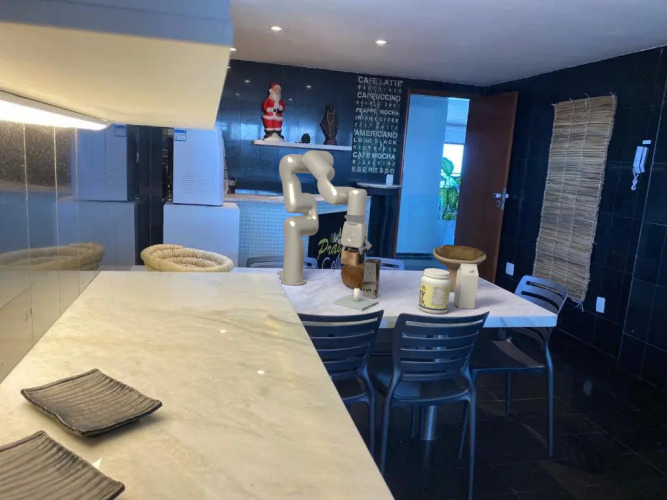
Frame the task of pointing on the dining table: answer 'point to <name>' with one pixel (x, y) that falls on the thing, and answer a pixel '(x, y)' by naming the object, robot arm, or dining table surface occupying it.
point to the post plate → (357, 304)
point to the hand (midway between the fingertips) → (352, 261)
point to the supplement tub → (434, 291)
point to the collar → (350, 257)
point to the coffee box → (371, 278)
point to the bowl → (457, 259)
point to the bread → (353, 275)
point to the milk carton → (466, 286)
